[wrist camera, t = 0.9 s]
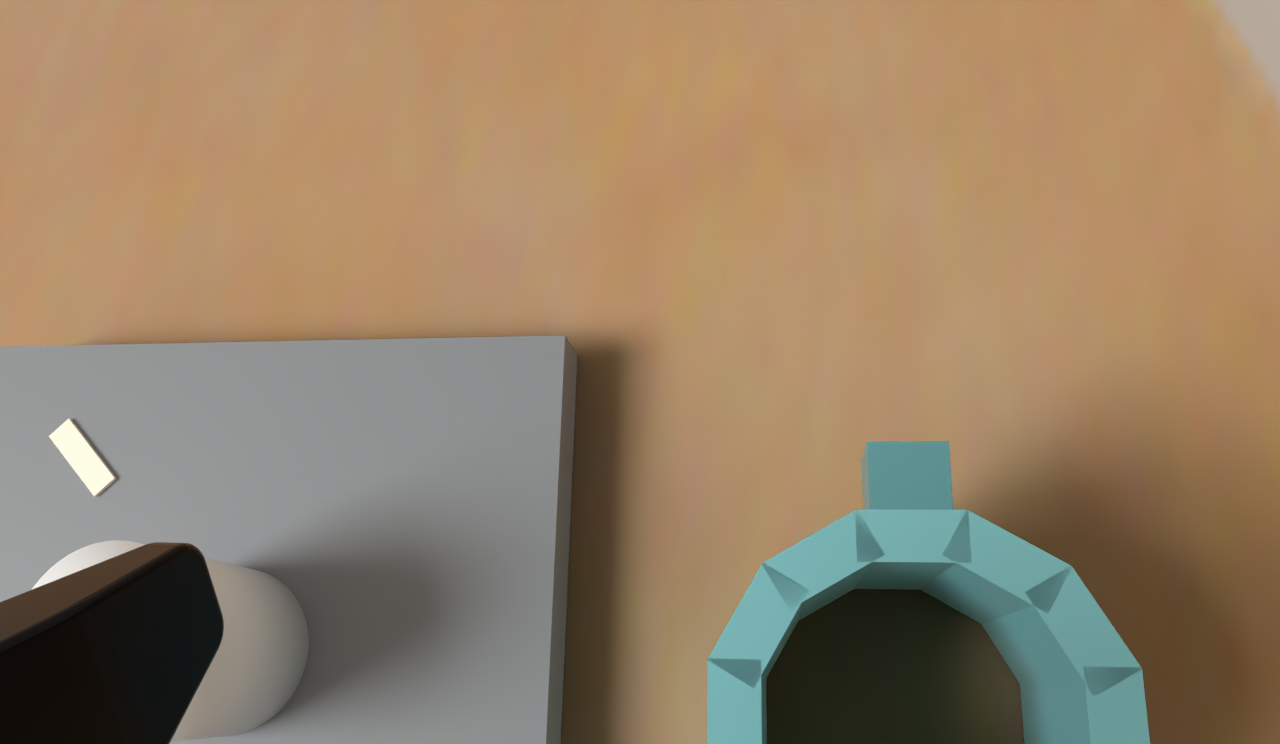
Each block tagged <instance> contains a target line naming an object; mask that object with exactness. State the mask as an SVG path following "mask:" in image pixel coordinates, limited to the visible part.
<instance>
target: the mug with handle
mask: <svg viewBox="0 0 1280 744" xmlns="http://www.w3.org/2000/svg"><path fill="white" fill-rule="evenodd" d="M862 485H863V509H855V510H854V511H852V512H851V513H849V514H847V515H845V516H844V517H842V518H840V519H838V520H837V521H835V522H833V523H831V524H830V525H828V526H826V527H825V528H823V529H821V530H819V531H818V532H816V533H814V534H812V535H811V536H809V537H807V538H805V539H804V540H802V541H800V542H798V543H797V544H795V545H793V546H791V547H790V548H788V549H786V550H784V551H783V552H781V553H779V554H777V555H776V556H774V557H772V558H770V559H769V560H767V561H765V562H763V563H762V565H761V566H760V568H759V570H758V572H757V573H756V575H755V577H754V579H753V580H752V582H751V584H750V586H749V588H748V589H747V591H746V593H745V595H744V596H743V598H742V600H741V602H740V603H739V605H738V607H737V609H736V610H735V612H734V614H733V616H732V617H731V619H730V621H729V623H728V624H727V626H726V628H725V630H724V631H723V633H722V635H721V637H720V638H719V640H718V642H717V644H716V645H715V647H714V649H713V651H712V653H711V654H710V656H709V658H708V700H707V744H767V686H766V678H767V677H768V675H769V673H770V671H771V669H772V668H773V666H774V664H775V662H776V660H777V659H778V657H779V655H780V653H781V651H782V650H783V648H784V646H785V644H786V642H787V641H788V639H789V637H790V635H791V633H792V632H793V630H794V628H795V626H796V624H797V623H798V621H799V620H801V619H803V618H804V617H806V616H808V615H810V614H811V613H813V612H815V611H817V610H818V609H820V608H822V607H824V606H825V605H827V604H829V603H831V602H832V601H834V600H836V599H837V598H839V597H841V596H843V595H844V594H846V593H848V592H850V591H851V590H853V589H908V590H922V591H924V592H925V593H927V594H929V595H931V596H932V597H934V598H936V599H938V600H940V601H941V602H943V603H945V604H947V605H948V606H950V607H952V608H954V609H955V610H957V611H959V612H961V613H962V614H964V615H966V616H968V617H969V618H971V619H973V620H975V621H977V622H978V623H980V624H981V625H982V626H983V628H984V630H985V631H986V633H987V634H988V636H989V637H990V639H991V640H992V642H993V644H994V645H995V647H996V648H997V650H998V651H999V653H1000V654H1001V656H1002V658H1003V659H1004V661H1005V662H1006V664H1007V665H1008V667H1009V668H1010V670H1011V672H1012V673H1013V675H1014V676H1015V678H1016V679H1017V681H1018V682H1019V684H1020V693H1021V707H1022V720H1023V733H1024V744H1150V737H1149V728H1148V719H1147V710H1146V701H1145V691H1144V682H1143V673H1142V668H1141V666H1140V665H1139V663H1138V662H1137V660H1136V659H1135V657H1134V656H1133V655H1132V653H1131V652H1130V650H1129V649H1128V647H1127V646H1126V644H1125V643H1124V641H1123V640H1122V639H1121V637H1120V636H1119V634H1118V633H1117V631H1116V630H1115V628H1114V627H1113V625H1112V624H1111V622H1110V621H1109V620H1108V618H1107V617H1106V615H1105V614H1104V612H1103V611H1102V609H1101V608H1100V606H1099V605H1098V604H1097V602H1096V601H1095V599H1094V598H1093V596H1092V595H1091V593H1090V592H1089V590H1088V589H1087V588H1086V586H1085V585H1084V583H1083V582H1082V580H1081V579H1080V577H1079V576H1078V574H1077V573H1076V571H1075V570H1074V569H1073V567H1072V566H1071V565H1069V564H1067V563H1065V562H1063V561H1062V560H1060V559H1058V558H1056V557H1054V556H1052V555H1051V554H1049V553H1047V552H1045V551H1043V550H1041V549H1039V548H1038V547H1036V546H1034V545H1032V544H1030V543H1028V542H1026V541H1025V540H1023V539H1021V538H1019V537H1017V536H1015V535H1013V534H1012V533H1010V532H1008V531H1006V530H1004V529H1002V528H1000V527H999V526H997V525H995V524H993V523H991V522H989V521H987V520H986V519H984V518H982V517H980V516H978V515H976V514H974V513H973V512H971V511H969V510H953V499H952V483H951V467H950V451H949V441H931V442H867V444H866V447H865V451H864V454H863V457H862Z"/></svg>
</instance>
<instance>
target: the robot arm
mask: <svg viewBox="0 0 1280 744" xmlns="http://www.w3.org/2000/svg"><path fill="white" fill-rule="evenodd" d="M223 631H224V620H223V615H222V612H221V608H220V605H219V602H218V599H217V596H216V592H215V589H214V586H213V583H212V580H211V576H210V573H209V570H208V567H207V564H206V561H205V558H204V556H203V554H202V553H201V551H200V550H199V549H198V548H197V547H196V546H194V545H192V544H189V543H170V542H154V543H149V544H146V545H143V546H141V547H138V548H136V549H133V550H130V551H128V552H125V553H123V554H120V555H118V556H115V557H113V558H110V559H108V560H105V561H103V562H100V563H98V564H95V565H93V566H90V567H88V568H85V569H83V570H80V571H78V572H75V573H72V574H70V575H67V576H65V577H62V578H60V579H57V580H55V581H52V582H50V583H47V584H45V585H42V586H40V587H37V588H35V589H32V590H30V591H27V592H25V593H22V594H19V595H17V596H14V597H12V598H9V599H7V600H4V601H2V602H0V744H170V742H171V740H172V738H173V736H174V734H175V732H176V730H177V728H178V726H179V724H180V722H181V720H182V718H183V717H184V715H185V713H186V711H187V709H188V707H189V705H190V703H191V701H192V699H193V697H194V695H195V693H196V691H197V690H198V688H199V686H200V684H201V682H202V680H203V678H204V676H205V674H206V672H207V670H208V668H209V666H210V664H211V662H212V661H213V659H214V657H215V655H216V653H217V651H218V649H219V647H220V644H221V641H222V637H223Z"/></svg>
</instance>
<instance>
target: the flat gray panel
mask: <svg viewBox="0 0 1280 744" xmlns="http://www.w3.org/2000/svg"><path fill="white" fill-rule="evenodd" d="M577 357H578V355H577V354H576V352H575V351H574V349H573V347H572V346H571V344H570V343H569V341H568V339H567V338H566V336H565V335H560V336H510V337H460V338H410V339H360V340H310V341H260V342H210V343H161V344H111V345H61V346H11V347H0V602H2V601H4V600H7V599H9V598H12V597H14V596H17V595H19V594H22V593H25V592H27V591H30V590H32V589H35V588H37V587H40V586H42V585H45V584H47V583H50V582H52V581H55V580H57V579H60V578H62V577H65V576H67V575H70V574H72V573H75V572H78V571H80V570H83V569H85V568H88V567H90V566H93V565H95V564H98V563H100V562H103V561H105V560H108V559H110V558H113V557H115V556H118V555H120V554H123V553H125V552H128V551H130V550H133V549H136V548H138V547H141V546H143V545H146V544H149V543H154V542H170V543H189V544H192V545H194V546H196V547H197V548H198V549H199V550H200V551H201V553H202V554H203V556H204V558H205V561H206V564H207V567H208V570H209V573H210V576H211V580H212V583H213V586H214V589H215V592H216V596H217V599H218V602H219V605H220V608H221V612H222V615H223V620H224V631H223V637H222V641H221V644H220V647H219V649H218V651H217V653H216V655H215V657H214V659H213V661H212V662H211V664H210V666H209V668H208V670H207V672H206V674H205V676H204V678H203V680H202V682H201V684H200V686H199V688H198V690H197V691H196V693H195V695H194V697H193V699H192V701H191V703H190V705H189V707H188V709H187V711H186V713H185V715H184V717H183V718H182V720H181V722H180V724H179V726H178V728H177V730H176V732H175V734H174V736H173V738H172V740H171V742H170V744H561V729H562V706H563V683H564V660H565V636H566V613H567V590H568V567H569V543H570V520H571V497H572V474H573V450H574V427H575V404H576V381H577Z"/></svg>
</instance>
